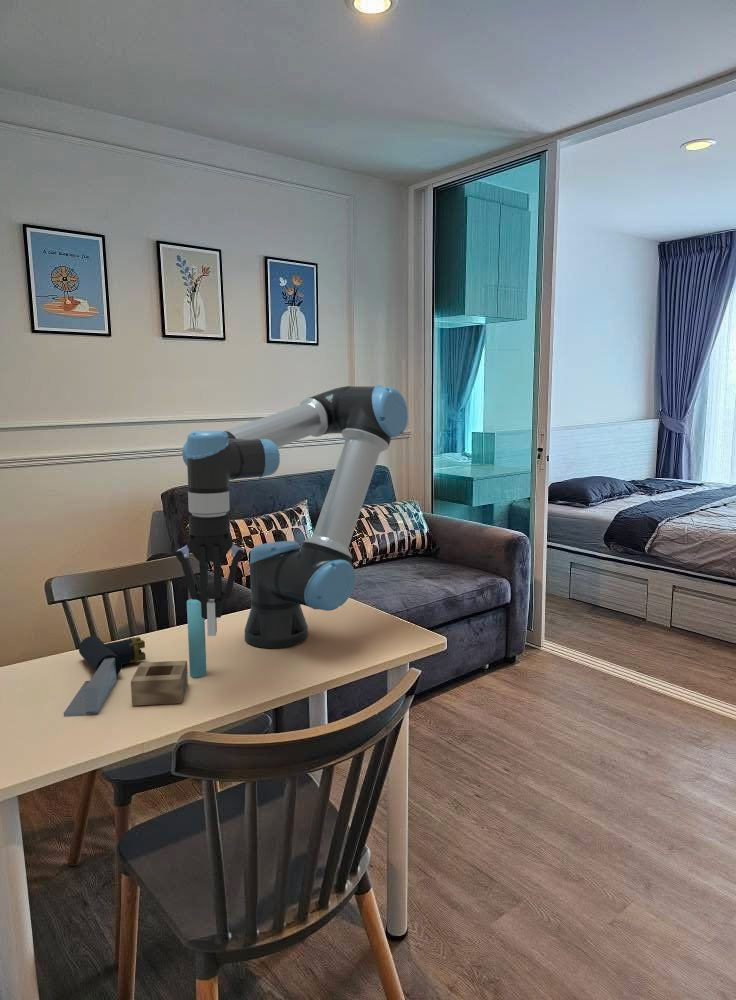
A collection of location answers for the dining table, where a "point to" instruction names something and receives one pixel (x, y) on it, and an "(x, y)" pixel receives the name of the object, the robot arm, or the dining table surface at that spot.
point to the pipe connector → (111, 651)
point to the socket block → (159, 683)
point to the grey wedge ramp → (94, 691)
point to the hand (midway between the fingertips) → (212, 633)
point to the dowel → (196, 639)
